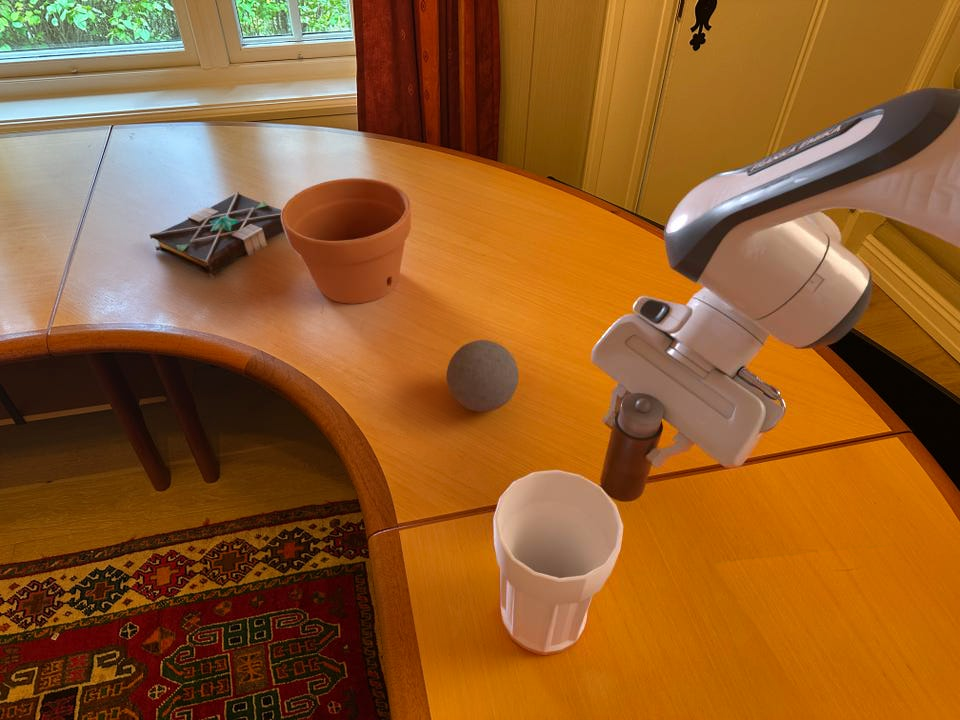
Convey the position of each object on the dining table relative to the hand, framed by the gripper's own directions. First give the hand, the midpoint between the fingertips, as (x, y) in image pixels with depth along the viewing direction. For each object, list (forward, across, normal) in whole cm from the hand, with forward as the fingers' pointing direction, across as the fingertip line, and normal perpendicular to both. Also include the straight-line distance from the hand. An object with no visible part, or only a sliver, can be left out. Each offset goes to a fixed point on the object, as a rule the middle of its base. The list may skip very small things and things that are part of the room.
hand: (629, 444), depth 67 cm
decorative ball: (+10, +24, -6) cm, 26 cm away
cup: (+19, -5, +3) cm, 20 cm away
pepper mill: (+5, 0, -6) cm, 8 cm away
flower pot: (+11, +61, -6) cm, 62 cm away
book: (+21, +88, +5) cm, 91 cm away
